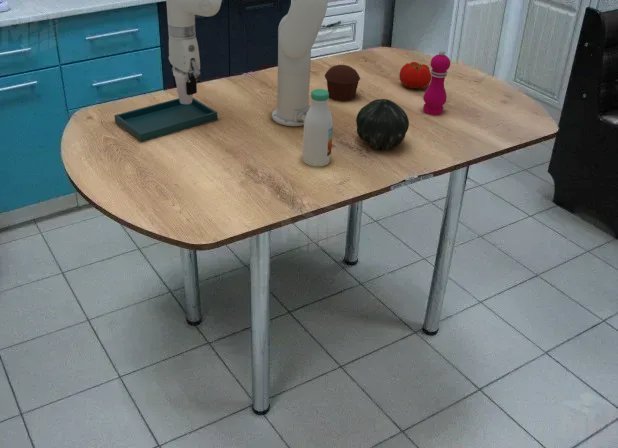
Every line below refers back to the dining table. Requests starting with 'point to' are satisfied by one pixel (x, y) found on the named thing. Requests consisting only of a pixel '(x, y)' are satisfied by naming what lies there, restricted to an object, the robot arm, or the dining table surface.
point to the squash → (382, 124)
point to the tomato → (415, 75)
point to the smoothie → (182, 86)
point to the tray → (164, 118)
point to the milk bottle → (318, 130)
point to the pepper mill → (436, 85)
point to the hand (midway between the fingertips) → (185, 89)
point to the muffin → (342, 82)
